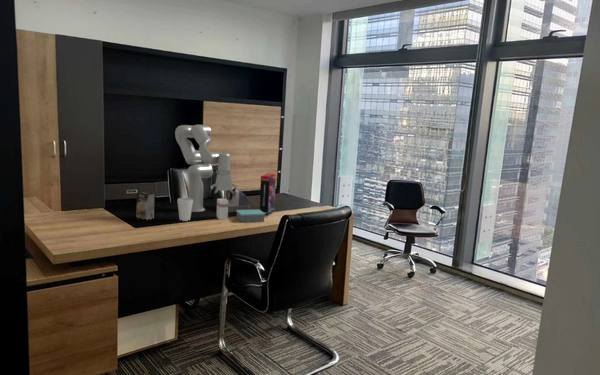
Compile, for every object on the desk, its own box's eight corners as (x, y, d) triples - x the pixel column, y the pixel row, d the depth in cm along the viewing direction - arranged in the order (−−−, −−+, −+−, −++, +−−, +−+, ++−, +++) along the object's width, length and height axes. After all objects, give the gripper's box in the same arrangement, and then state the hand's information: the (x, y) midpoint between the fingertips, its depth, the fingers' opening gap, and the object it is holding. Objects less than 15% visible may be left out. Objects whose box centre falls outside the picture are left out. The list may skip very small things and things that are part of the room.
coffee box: (135, 217, 270) (135, 192, 267) (143, 216, 276) (143, 191, 273) (147, 220, 266) (147, 194, 264) (154, 218, 272) (154, 192, 269)
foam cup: (195, 219, 277) (195, 199, 275) (187, 222, 268) (188, 201, 266) (181, 217, 279) (182, 197, 277) (174, 220, 270) (174, 199, 268)
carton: (219, 219, 280) (219, 201, 278) (216, 216, 288) (217, 198, 286) (227, 219, 282) (228, 201, 280) (224, 216, 290) (225, 198, 288)
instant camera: (215, 206, 320) (216, 186, 317) (242, 205, 329) (243, 185, 327) (224, 212, 301) (225, 191, 299) (252, 211, 311) (253, 190, 308)
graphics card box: (268, 216, 298) (270, 176, 294) (258, 215, 300) (260, 175, 295) (274, 211, 315) (276, 174, 311) (265, 210, 316) (267, 173, 312)
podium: (240, 222, 276) (241, 214, 275) (235, 217, 288) (236, 209, 287) (265, 221, 283) (265, 213, 282) (258, 217, 294) (259, 209, 294)
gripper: (211, 173, 273) (211, 200, 276) (238, 173, 280) (238, 199, 282) (209, 171, 280) (208, 198, 283) (235, 171, 287) (235, 197, 289)
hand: (223, 198), depth 283 cm, fingers open, 9 cm apart
